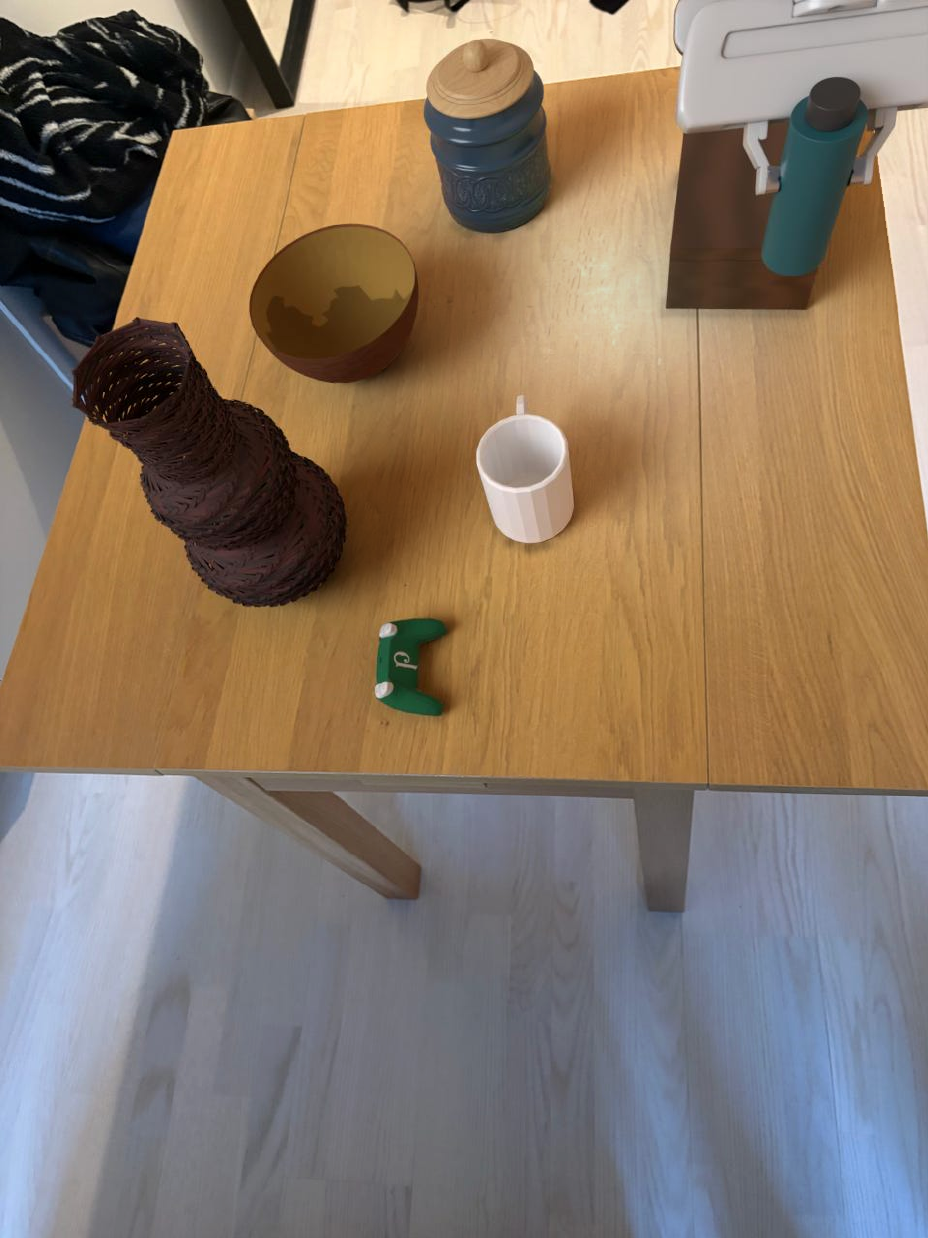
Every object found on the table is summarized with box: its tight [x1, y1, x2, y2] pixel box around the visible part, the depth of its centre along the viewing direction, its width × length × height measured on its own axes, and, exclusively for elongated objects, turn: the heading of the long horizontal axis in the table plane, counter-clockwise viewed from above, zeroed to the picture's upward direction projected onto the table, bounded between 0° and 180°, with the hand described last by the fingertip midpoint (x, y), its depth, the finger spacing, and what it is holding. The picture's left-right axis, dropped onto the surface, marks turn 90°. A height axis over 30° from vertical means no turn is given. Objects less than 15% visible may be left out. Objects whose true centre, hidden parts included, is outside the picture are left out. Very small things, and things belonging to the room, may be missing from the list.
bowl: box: [248, 223, 420, 384], centre depth 85 cm, size 18×18×10 cm
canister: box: [423, 38, 552, 234], centre depth 87 cm, size 13×13×18 cm
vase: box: [70, 316, 348, 608], centre depth 67 cm, size 15×15×30 cm
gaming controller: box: [374, 617, 448, 717], centre depth 72 cm, size 9×4×6 cm
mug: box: [475, 394, 575, 544], centre depth 74 cm, size 8×12×10 cm
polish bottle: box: [761, 77, 868, 276], centre depth 59 cm, size 5×5×14 cm
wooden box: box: [665, 123, 820, 311], centre depth 82 cm, size 14×20×8 cm
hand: (812, 189), depth 59 cm, fingers closed on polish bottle, 5 cm apart
